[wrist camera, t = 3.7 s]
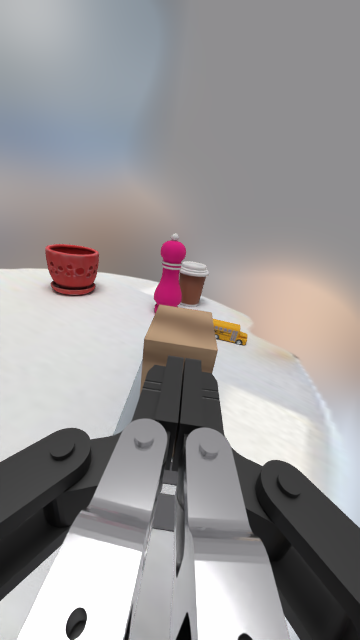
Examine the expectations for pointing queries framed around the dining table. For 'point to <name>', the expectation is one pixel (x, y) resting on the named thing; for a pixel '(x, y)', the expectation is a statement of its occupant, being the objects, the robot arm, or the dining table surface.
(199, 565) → the robot arm
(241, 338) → the toy bus
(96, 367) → the dining table surface
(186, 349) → the walnut block
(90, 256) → the plant pot
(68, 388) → the dining table surface
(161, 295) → the pepper mill
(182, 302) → the coffee cup
